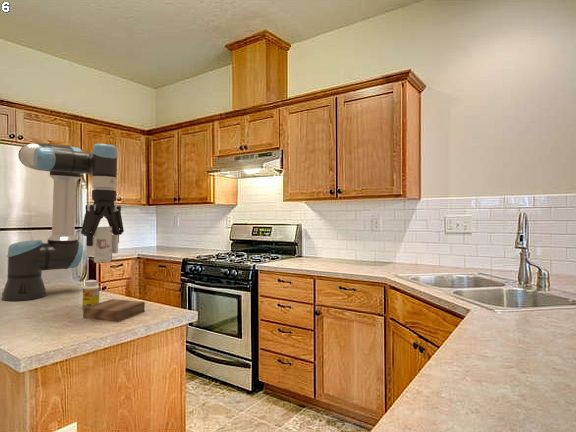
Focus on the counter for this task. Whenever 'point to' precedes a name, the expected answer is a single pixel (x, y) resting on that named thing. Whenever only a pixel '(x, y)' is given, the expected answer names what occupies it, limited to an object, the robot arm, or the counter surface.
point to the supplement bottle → (90, 293)
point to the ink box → (103, 244)
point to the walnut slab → (113, 310)
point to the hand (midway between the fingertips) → (103, 254)
